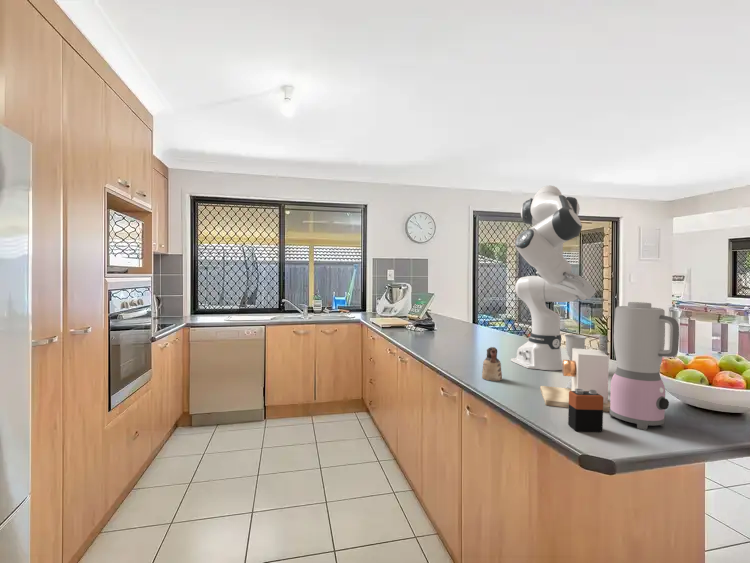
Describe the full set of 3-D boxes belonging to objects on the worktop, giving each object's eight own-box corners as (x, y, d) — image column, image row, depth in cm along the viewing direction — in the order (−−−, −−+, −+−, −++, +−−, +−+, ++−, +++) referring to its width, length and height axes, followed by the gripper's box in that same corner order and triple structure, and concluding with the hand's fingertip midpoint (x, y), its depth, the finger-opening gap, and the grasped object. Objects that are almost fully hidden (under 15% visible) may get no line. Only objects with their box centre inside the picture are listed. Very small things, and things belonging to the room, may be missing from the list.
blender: (598, 416, 107) (601, 301, 106) (627, 410, 112) (630, 300, 111) (660, 438, 92) (663, 306, 92) (689, 431, 97) (693, 305, 97)
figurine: (501, 377, 147) (501, 345, 147) (502, 382, 140) (503, 349, 140) (481, 375, 149) (482, 344, 148) (482, 380, 142) (483, 348, 142)
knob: (564, 377, 119) (565, 361, 119) (562, 373, 123) (562, 358, 123) (598, 380, 116) (599, 364, 116) (594, 376, 121) (595, 360, 121)
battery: (567, 425, 100) (568, 387, 100) (593, 425, 100) (594, 387, 100) (575, 432, 96) (576, 392, 96) (603, 432, 96) (604, 392, 95)
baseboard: (545, 405, 115) (545, 400, 115) (540, 390, 131) (540, 385, 131) (614, 412, 110) (614, 407, 110) (600, 396, 125) (600, 391, 125)
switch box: (577, 400, 115) (578, 354, 115) (571, 391, 125) (572, 348, 125) (607, 403, 113) (608, 356, 113) (599, 393, 123) (600, 350, 122)
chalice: (588, 391, 130) (589, 338, 130) (566, 389, 132) (567, 337, 131) (581, 385, 138) (582, 335, 137) (560, 383, 139) (562, 334, 139)
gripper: (583, 268, 113) (612, 298, 115) (545, 258, 132) (571, 284, 135) (568, 284, 113) (596, 314, 116) (533, 272, 133) (558, 297, 136)
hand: (582, 298), depth 126 cm, fingers closed
